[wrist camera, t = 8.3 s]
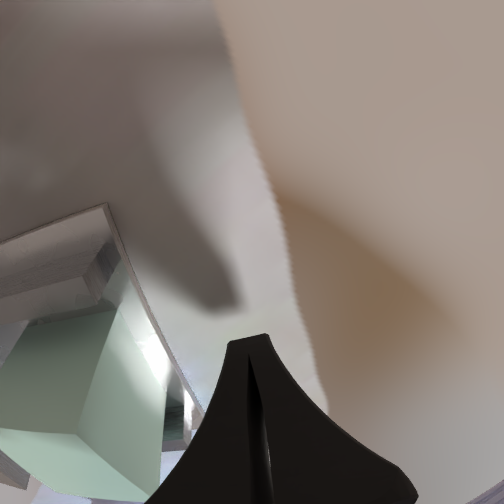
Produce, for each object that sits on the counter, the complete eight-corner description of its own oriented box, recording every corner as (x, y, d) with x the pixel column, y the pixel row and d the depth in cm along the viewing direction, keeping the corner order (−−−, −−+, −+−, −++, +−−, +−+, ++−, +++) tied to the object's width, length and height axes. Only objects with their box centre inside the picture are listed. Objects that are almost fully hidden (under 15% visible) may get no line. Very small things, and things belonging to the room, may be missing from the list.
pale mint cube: (166, 394, 13) (158, 502, 8) (80, 401, 13) (55, 492, 8) (117, 309, 11) (76, 434, 6) (25, 327, 11) (-27, 423, 6)
